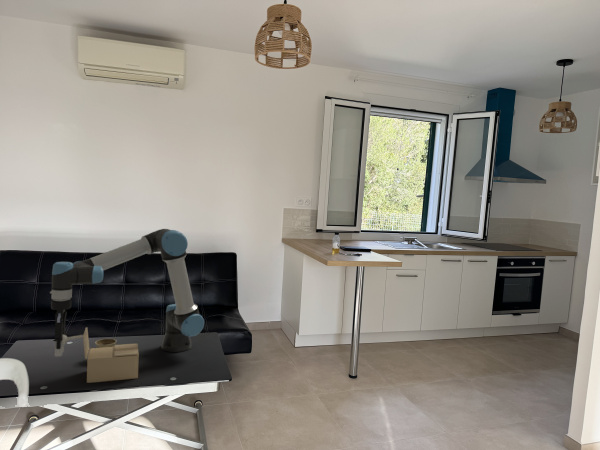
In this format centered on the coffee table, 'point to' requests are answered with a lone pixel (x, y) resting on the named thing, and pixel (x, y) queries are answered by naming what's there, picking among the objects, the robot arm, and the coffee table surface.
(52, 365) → the coffee table surface
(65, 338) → the flap
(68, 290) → the robot arm
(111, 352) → the carton
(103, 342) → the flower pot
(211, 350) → the coffee table surface
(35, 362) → the coffee table surface
